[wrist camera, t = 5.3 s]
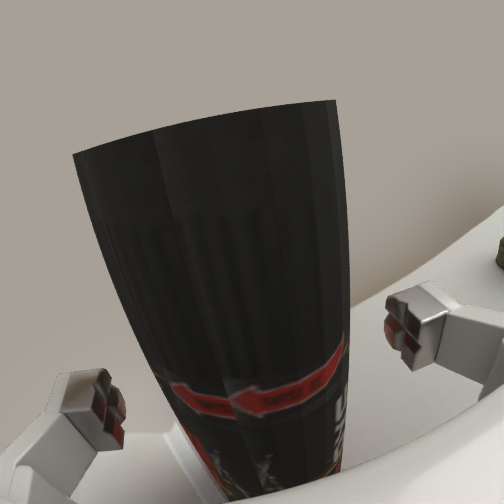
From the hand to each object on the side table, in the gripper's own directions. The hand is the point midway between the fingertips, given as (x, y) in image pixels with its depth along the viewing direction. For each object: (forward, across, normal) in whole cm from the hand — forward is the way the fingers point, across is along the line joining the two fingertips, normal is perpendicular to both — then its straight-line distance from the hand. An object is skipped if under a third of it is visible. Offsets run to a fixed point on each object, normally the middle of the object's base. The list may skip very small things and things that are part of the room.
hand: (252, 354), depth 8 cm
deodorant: (+1, 0, -9) cm, 9 cm away
